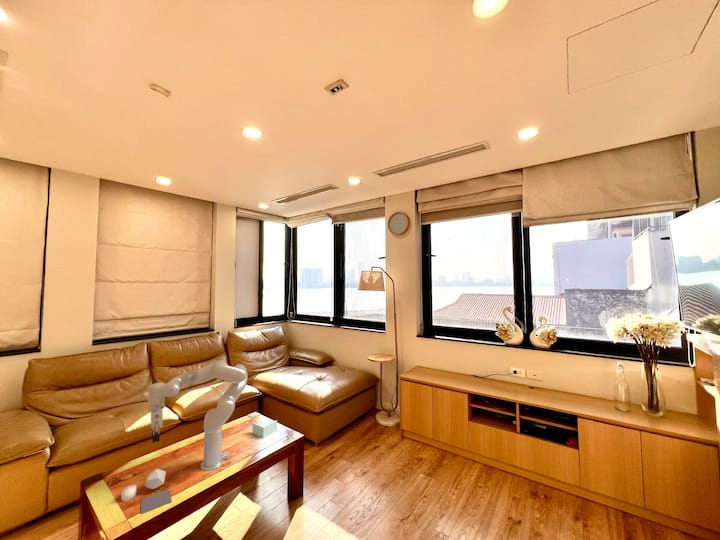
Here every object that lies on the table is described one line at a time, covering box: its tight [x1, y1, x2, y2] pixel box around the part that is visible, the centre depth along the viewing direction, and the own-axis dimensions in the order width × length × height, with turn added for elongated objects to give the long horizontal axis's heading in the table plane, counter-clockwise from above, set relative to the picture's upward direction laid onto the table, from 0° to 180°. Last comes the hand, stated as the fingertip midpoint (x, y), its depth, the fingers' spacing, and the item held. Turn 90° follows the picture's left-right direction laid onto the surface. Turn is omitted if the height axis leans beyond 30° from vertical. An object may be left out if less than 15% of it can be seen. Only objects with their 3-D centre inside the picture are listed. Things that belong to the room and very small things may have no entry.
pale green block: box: [252, 419, 278, 439], centre depth 206 cm, size 12×12×8 cm
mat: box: [140, 488, 172, 515], centre depth 141 cm, size 12×11×1 cm
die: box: [144, 468, 167, 490], centre depth 150 cm, size 8×9×10 cm
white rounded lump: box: [120, 484, 137, 502], centre depth 144 cm, size 6×6×4 cm
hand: (155, 438), depth 159 cm, fingers open, 6 cm apart
